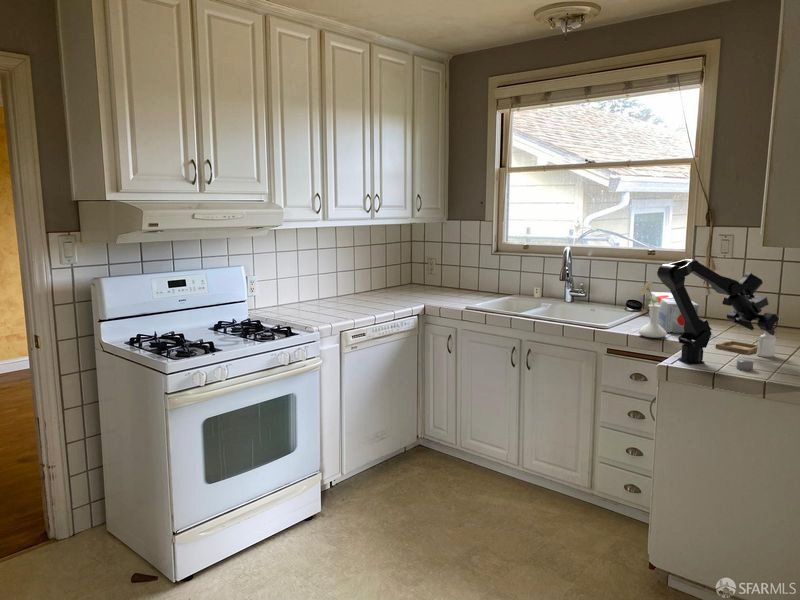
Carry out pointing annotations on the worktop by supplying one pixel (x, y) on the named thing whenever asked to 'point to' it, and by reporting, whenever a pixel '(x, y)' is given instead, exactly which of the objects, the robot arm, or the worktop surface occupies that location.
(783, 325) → the worktop surface
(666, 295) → the soda pack
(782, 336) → the worktop surface
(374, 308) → the worktop surface
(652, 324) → the flower in vase
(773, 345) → the eye dropper bottle
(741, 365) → the grey plastic cap
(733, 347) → the shallow wooden tray
